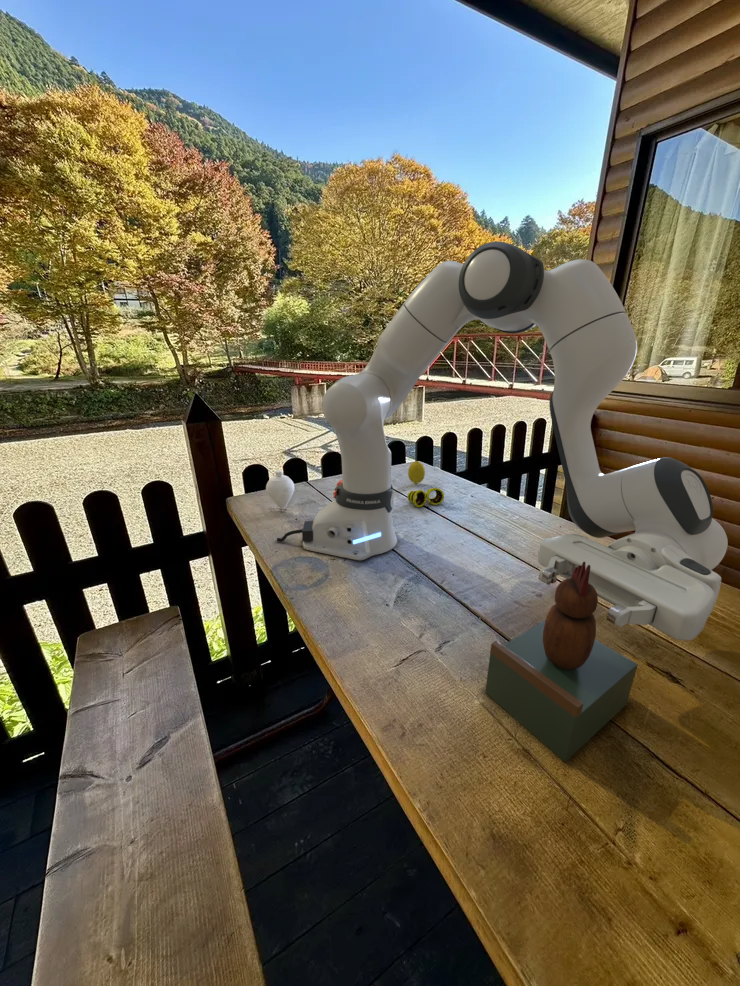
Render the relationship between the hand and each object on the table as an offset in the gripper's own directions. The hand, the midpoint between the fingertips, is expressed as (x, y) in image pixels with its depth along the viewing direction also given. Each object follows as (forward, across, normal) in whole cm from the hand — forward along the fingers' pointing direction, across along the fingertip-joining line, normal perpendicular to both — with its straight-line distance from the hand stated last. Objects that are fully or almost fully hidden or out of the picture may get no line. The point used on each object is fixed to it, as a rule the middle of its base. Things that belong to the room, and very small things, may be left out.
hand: (575, 596), depth 50 cm
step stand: (0, 0, +17) cm, 17 cm away
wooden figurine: (0, 0, +10) cm, 10 cm away
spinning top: (+13, -80, +17) cm, 83 cm away
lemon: (-33, -80, +17) cm, 88 cm away
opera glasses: (-26, -65, +17) cm, 72 cm away
